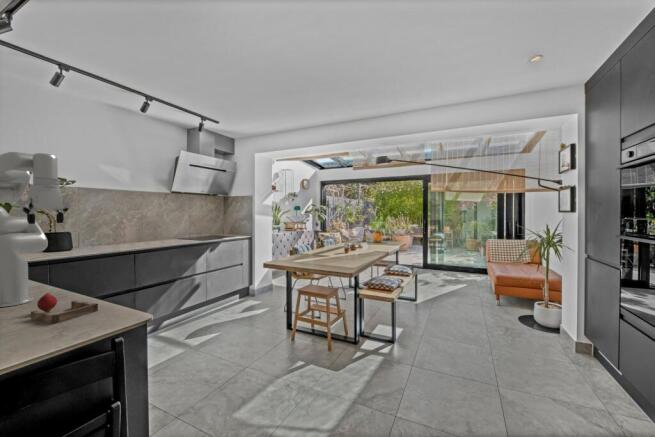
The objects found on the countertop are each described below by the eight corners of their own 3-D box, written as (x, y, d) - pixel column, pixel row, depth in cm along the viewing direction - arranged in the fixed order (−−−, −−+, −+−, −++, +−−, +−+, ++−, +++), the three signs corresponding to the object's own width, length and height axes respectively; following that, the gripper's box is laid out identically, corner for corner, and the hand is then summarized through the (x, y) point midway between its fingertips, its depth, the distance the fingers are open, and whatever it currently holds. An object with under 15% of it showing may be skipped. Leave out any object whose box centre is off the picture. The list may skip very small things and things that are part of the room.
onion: (44, 314, 116) (44, 295, 116) (33, 313, 117) (33, 294, 117) (60, 310, 122) (60, 291, 122) (49, 309, 123) (49, 290, 123)
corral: (31, 319, 111) (30, 311, 111) (75, 307, 125) (75, 300, 125) (54, 323, 107) (54, 315, 107) (97, 310, 121) (97, 303, 121)
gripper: (63, 185, 132) (64, 222, 132) (12, 181, 115) (13, 224, 116) (74, 184, 129) (75, 222, 130) (24, 180, 113) (25, 224, 113)
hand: (46, 223), depth 123 cm, fingers open, 9 cm apart
